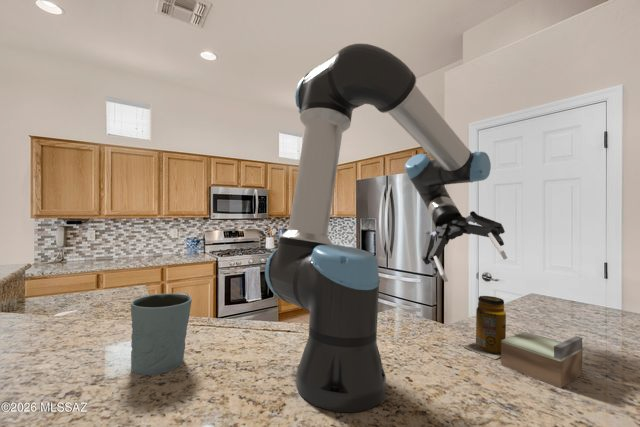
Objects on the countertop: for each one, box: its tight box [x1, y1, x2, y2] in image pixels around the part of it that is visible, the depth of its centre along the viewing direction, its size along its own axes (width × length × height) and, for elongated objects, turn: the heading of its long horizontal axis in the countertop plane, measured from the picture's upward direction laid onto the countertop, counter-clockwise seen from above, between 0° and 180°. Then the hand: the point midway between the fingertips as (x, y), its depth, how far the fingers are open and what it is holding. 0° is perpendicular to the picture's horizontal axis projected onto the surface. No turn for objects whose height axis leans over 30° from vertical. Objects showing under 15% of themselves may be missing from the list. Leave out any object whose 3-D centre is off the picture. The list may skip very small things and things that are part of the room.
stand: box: [500, 331, 583, 389], centre depth 59 cm, size 11×10×7 cm
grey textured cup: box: [130, 293, 193, 376], centre depth 54 cm, size 10×10×12 cm
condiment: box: [462, 295, 507, 360], centre depth 68 cm, size 7×8×12 cm
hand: (473, 267), depth 66 cm, fingers open, 13 cm apart
